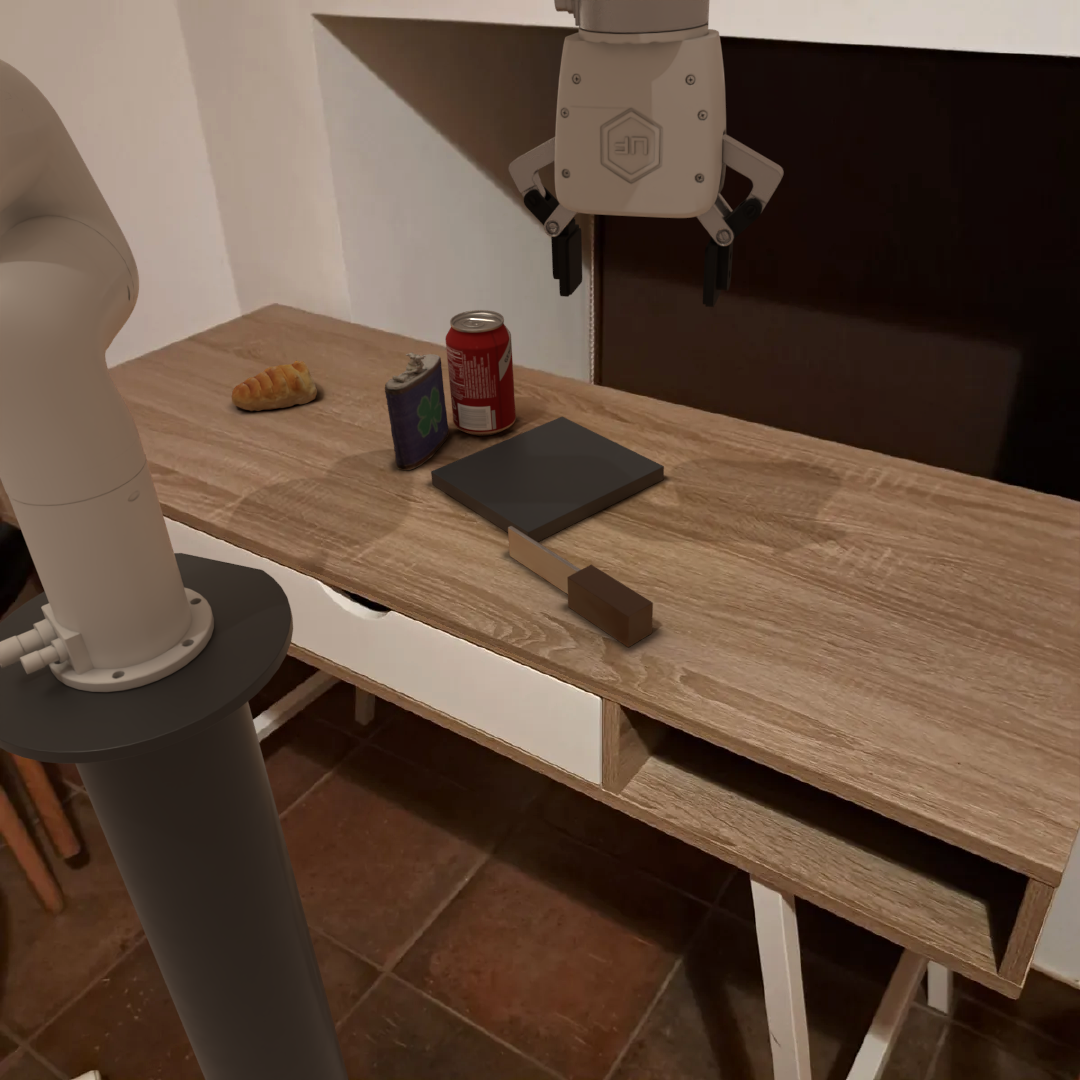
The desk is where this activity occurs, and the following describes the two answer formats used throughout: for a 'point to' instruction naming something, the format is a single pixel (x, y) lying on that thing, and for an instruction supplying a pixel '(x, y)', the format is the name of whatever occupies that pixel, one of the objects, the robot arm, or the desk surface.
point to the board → (547, 478)
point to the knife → (588, 590)
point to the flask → (417, 411)
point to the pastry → (276, 388)
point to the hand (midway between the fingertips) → (640, 294)
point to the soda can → (480, 372)
